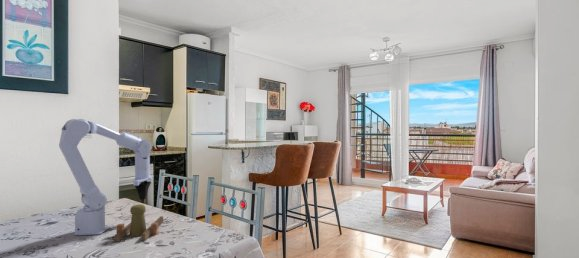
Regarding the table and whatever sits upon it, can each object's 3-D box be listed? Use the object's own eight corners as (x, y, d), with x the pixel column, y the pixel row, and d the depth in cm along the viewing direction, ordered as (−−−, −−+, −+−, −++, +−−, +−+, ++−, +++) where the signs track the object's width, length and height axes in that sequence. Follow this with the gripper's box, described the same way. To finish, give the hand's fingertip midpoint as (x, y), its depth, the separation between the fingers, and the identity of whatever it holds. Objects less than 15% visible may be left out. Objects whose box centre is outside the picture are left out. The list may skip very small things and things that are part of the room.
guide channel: (108, 242, 111) (108, 231, 111) (132, 223, 132) (132, 213, 132) (151, 240, 112) (150, 229, 112) (168, 222, 133) (168, 212, 133)
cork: (139, 237, 115) (139, 207, 115) (125, 236, 117) (125, 206, 117) (150, 231, 121) (150, 203, 121) (136, 230, 123) (136, 202, 123)
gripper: (145, 170, 128) (146, 203, 128) (157, 165, 143) (158, 194, 143) (127, 170, 127) (128, 203, 128) (141, 165, 142) (142, 195, 142)
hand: (142, 198), depth 135 cm, fingers closed
